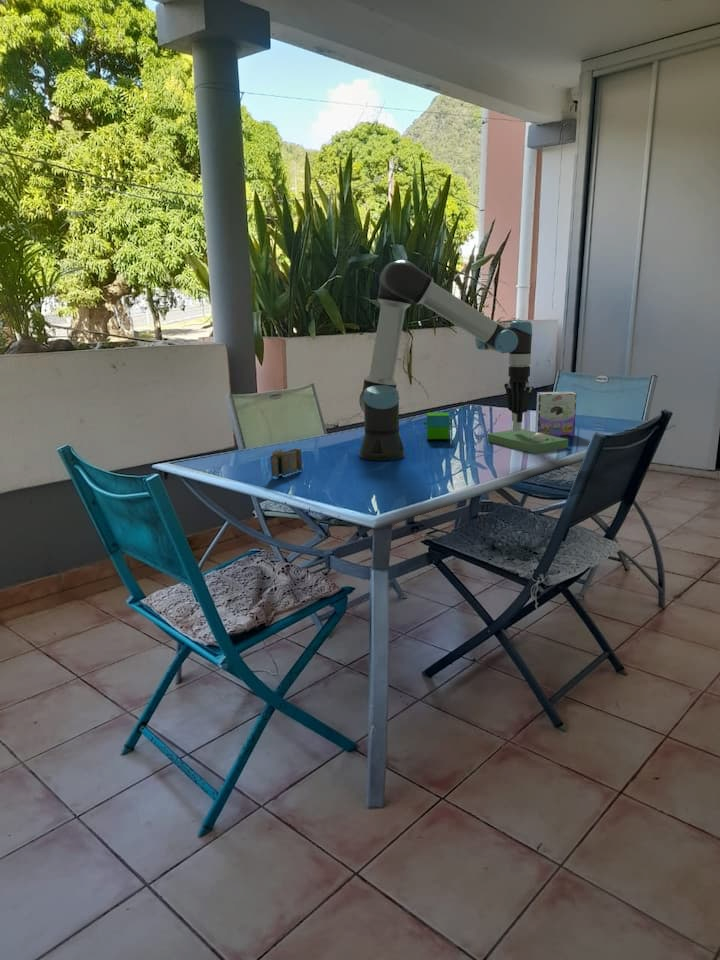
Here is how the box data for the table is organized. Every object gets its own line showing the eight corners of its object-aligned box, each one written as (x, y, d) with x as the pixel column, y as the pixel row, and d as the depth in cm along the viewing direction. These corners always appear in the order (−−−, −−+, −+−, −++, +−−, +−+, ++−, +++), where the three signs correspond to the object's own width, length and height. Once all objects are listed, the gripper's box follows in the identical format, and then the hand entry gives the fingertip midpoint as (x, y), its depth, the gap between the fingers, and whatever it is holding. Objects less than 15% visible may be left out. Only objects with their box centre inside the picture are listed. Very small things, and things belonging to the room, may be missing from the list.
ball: (540, 439, 230) (531, 430, 233) (535, 450, 233) (526, 441, 237) (551, 437, 232) (542, 428, 235) (545, 448, 236) (537, 439, 239)
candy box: (571, 433, 257) (574, 391, 252) (574, 436, 251) (577, 393, 247) (534, 433, 258) (536, 391, 254) (537, 436, 252) (539, 393, 248)
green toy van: (450, 434, 260) (450, 409, 258) (451, 442, 248) (452, 415, 245) (424, 434, 261) (424, 409, 258) (424, 442, 248) (424, 415, 246)
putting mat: (534, 453, 226) (534, 445, 225) (487, 441, 246) (487, 433, 245) (567, 447, 234) (568, 439, 233) (519, 436, 254) (520, 428, 253)
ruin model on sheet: (279, 481, 201) (277, 450, 199) (271, 480, 203) (270, 449, 200) (303, 473, 210) (301, 443, 208) (295, 472, 212) (294, 442, 209)
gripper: (540, 366, 233) (537, 432, 239) (515, 363, 244) (512, 426, 250) (524, 367, 230) (521, 434, 236) (499, 364, 241) (496, 429, 247)
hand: (516, 430), depth 243 cm, fingers closed
